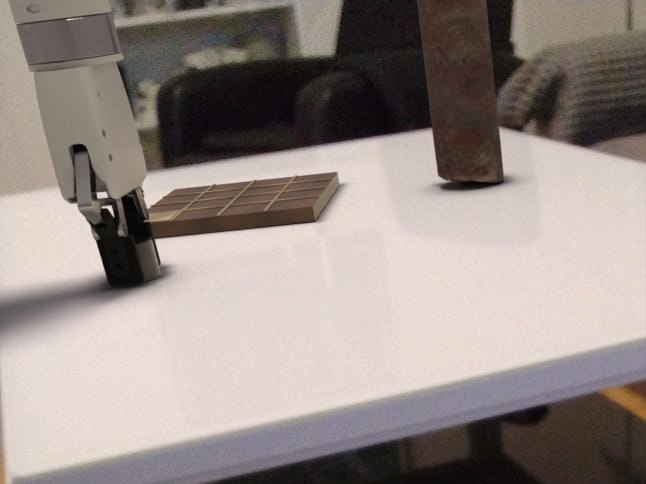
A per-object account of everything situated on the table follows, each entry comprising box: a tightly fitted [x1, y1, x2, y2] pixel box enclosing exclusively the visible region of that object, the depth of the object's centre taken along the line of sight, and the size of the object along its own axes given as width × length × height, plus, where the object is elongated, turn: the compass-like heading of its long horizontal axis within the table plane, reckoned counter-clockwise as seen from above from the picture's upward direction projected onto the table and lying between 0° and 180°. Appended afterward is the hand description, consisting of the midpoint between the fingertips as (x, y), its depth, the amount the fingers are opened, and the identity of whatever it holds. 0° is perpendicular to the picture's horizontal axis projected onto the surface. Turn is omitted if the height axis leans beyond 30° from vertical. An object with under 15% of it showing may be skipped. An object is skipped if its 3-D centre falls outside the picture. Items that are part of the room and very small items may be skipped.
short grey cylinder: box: [134, 235, 162, 283], centre depth 92 cm, size 4×4×3 cm
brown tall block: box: [416, 0, 505, 185], centre depth 109 cm, size 8×7×20 cm
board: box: [144, 171, 340, 239], centre depth 114 cm, size 20×20×2 cm
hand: (135, 274), depth 93 cm, fingers closed on short grey cylinder, 4 cm apart
